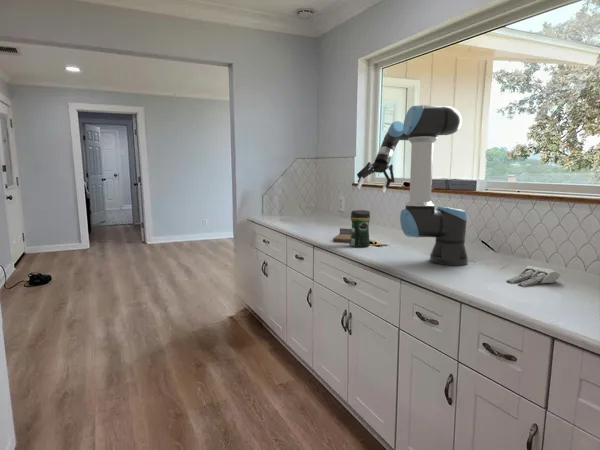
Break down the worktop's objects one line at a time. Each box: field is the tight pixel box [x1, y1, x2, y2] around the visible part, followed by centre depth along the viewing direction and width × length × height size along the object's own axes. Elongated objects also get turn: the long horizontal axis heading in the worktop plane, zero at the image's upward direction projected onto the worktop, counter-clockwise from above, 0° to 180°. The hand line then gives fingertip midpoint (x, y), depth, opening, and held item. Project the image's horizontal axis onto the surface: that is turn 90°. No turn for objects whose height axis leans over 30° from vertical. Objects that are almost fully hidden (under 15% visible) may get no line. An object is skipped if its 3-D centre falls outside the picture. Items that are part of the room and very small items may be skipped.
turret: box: [506, 265, 561, 288], centre depth 133 cm, size 10×20×5 cm, turn 115°
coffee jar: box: [349, 209, 371, 248], centre depth 192 cm, size 10×8×19 cm
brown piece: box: [332, 227, 352, 244], centre depth 211 cm, size 20×14×5 cm
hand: (370, 190), depth 194 cm, fingers open, 13 cm apart
